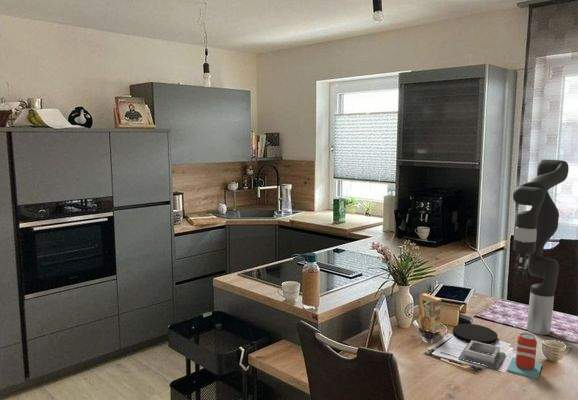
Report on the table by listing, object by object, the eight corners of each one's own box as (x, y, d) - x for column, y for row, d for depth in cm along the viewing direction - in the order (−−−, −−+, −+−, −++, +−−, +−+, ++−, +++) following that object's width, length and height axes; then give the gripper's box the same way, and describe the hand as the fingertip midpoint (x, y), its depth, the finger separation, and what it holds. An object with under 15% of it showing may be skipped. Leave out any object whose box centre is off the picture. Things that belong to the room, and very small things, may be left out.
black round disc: (453, 342, 197) (453, 337, 196) (451, 325, 214) (452, 321, 213) (499, 348, 192) (500, 343, 191) (494, 331, 209) (494, 326, 208)
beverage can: (532, 364, 177) (535, 333, 175) (535, 372, 171) (538, 340, 169) (514, 361, 179) (517, 331, 177) (516, 369, 173) (519, 338, 171)
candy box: (439, 332, 205) (442, 298, 203) (433, 334, 203) (435, 300, 201) (423, 325, 212) (425, 292, 210) (417, 327, 210) (419, 294, 208)
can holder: (467, 345, 193) (468, 337, 192) (504, 355, 185) (505, 346, 185) (458, 359, 181) (459, 350, 181) (497, 369, 174) (498, 360, 173)
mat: (512, 358, 183) (512, 356, 182) (541, 365, 177) (541, 364, 177) (507, 371, 173) (507, 369, 173) (537, 379, 167) (537, 377, 167)
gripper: (517, 234, 188) (513, 273, 190) (511, 240, 176) (507, 282, 179) (538, 237, 184) (534, 277, 186) (533, 243, 172) (529, 286, 174)
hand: (521, 279), depth 182 cm, fingers open, 8 cm apart
